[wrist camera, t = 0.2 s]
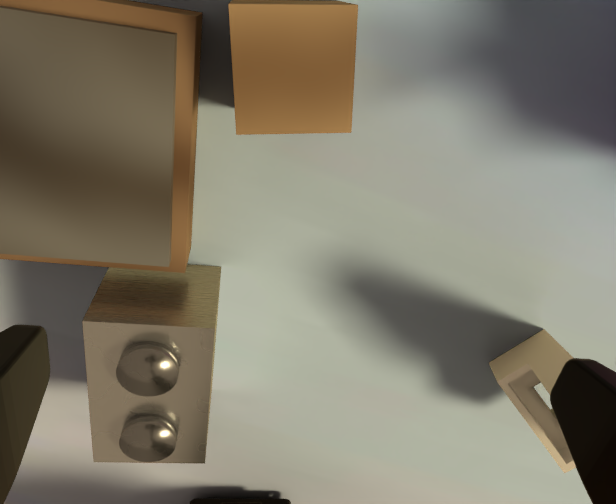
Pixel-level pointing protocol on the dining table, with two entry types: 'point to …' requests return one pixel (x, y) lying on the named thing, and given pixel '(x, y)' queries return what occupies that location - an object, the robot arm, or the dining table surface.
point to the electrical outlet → (520, 389)
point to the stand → (98, 132)
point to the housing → (151, 364)
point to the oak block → (293, 65)
